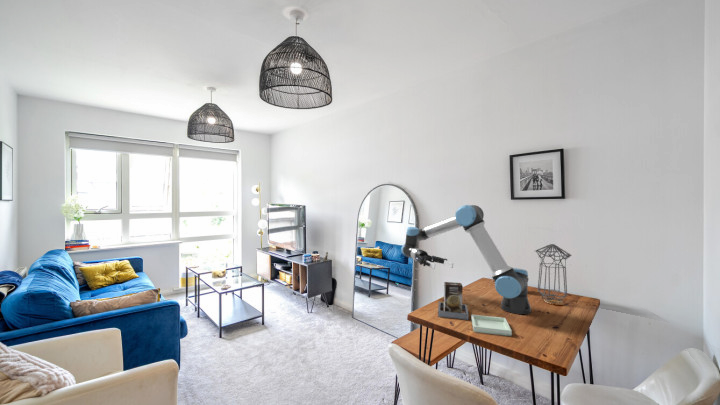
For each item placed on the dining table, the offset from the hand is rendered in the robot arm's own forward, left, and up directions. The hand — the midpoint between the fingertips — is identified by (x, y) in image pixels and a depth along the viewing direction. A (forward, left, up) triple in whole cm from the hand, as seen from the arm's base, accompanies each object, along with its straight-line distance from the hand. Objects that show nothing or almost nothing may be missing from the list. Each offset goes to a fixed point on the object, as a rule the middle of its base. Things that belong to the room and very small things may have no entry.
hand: (443, 266), depth 174 cm
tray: (-22, +20, -24) cm, 38 cm away
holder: (-5, +6, -24) cm, 25 cm away
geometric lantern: (-64, -36, -24) cm, 77 cm away
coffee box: (-5, +6, -24) cm, 25 cm away
